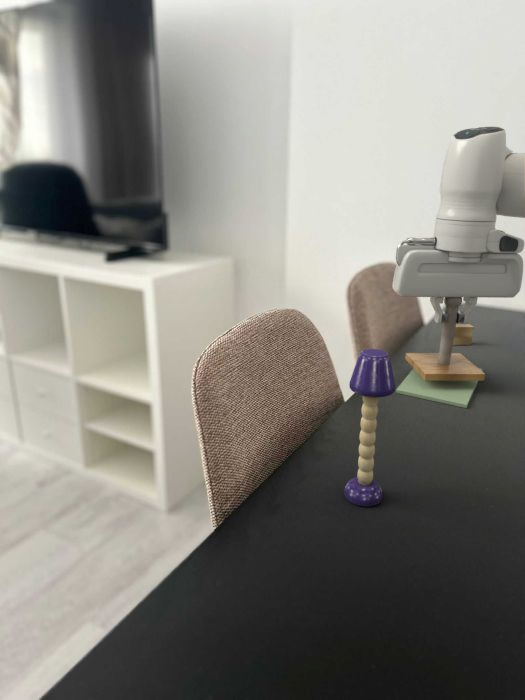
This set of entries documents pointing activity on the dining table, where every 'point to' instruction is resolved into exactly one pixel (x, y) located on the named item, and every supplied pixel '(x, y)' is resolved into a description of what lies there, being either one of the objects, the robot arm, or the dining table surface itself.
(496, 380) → the dining table surface
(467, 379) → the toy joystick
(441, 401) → the mat
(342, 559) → the dining table surface
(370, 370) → the toy lamp
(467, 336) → the block
